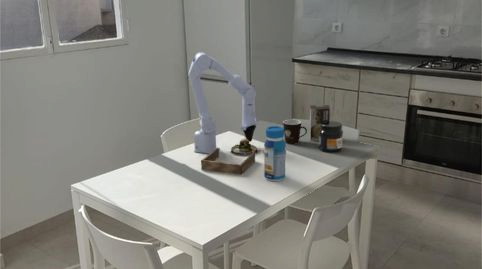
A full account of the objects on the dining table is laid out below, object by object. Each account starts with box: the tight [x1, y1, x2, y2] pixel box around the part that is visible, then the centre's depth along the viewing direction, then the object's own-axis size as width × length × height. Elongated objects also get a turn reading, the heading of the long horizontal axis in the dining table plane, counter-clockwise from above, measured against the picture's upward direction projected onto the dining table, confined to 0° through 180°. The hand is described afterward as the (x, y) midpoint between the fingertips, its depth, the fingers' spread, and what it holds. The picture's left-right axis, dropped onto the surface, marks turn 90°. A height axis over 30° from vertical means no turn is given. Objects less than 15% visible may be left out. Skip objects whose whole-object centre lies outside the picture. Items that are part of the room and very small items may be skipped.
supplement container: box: [318, 120, 344, 153], centre depth 206 cm, size 10×10×12 cm
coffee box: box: [309, 104, 331, 142], centre depth 220 cm, size 9×6×16 cm
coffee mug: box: [282, 119, 308, 145], centre depth 215 cm, size 12×9×10 cm
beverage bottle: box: [263, 125, 287, 182], centre depth 175 cm, size 8×8×20 cm
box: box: [200, 148, 256, 176], centre depth 191 cm, size 18×16×4 cm
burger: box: [230, 138, 258, 155], centre depth 206 cm, size 12×12×8 cm
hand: (249, 141), depth 212 cm, fingers closed
